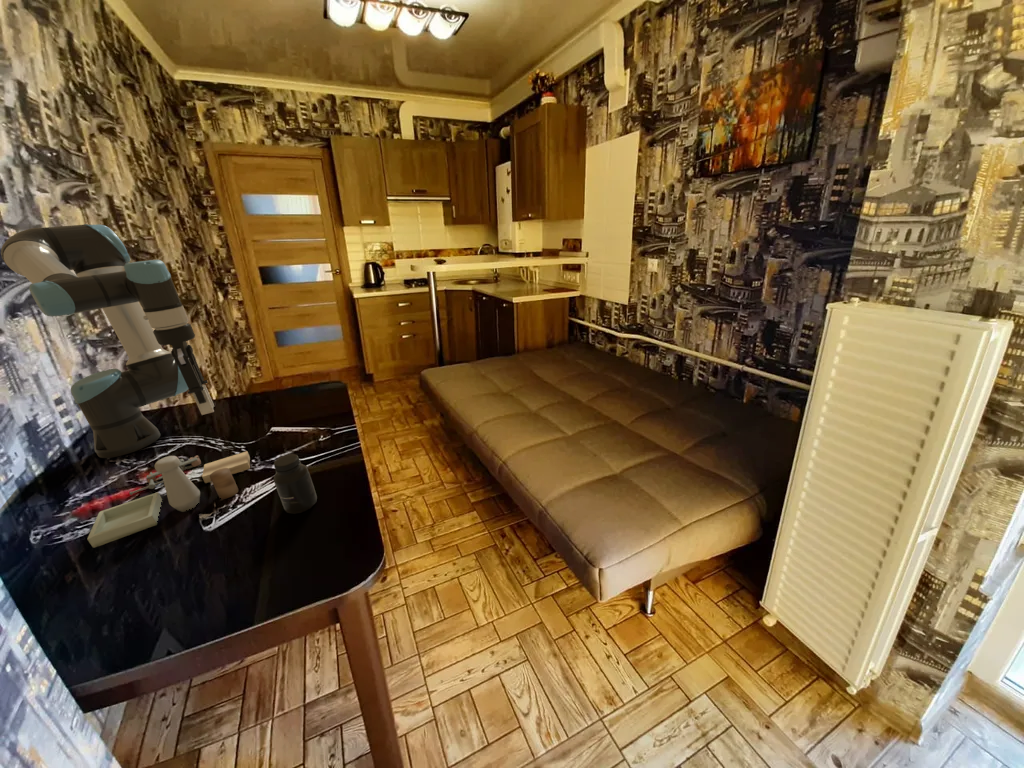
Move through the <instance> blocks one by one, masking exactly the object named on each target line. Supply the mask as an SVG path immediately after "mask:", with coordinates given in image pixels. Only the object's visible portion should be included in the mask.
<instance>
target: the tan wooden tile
mask: <svg viewBox="0 0 1024 768" xmlns="http://www.w3.org/2000/svg"><path fill="white" fill-rule="evenodd" d="M250 460H251V457H250V454H249V452H248V451H247V450H246V451H243V452H240V453H237V454H233V455H230V456H227V457H224V458H220V459H218V460H214V461H212V462H211V461H210V462H208V463H205V464H203V468H202V469H203V470H202V475H201V476H202V479H203V482H204V484H207V483H210V481H211V479H210V474H211V473H213V472H214V471H216V470H219V469H222V468H229V469H230V472H231V474H232V475H234V474H237V473H240V472H243V471H246V470H249V469H251V461H250ZM211 482H212V481H211Z"/></svg>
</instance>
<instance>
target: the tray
mask: <svg viewBox="0 0 1024 768" xmlns="http://www.w3.org/2000/svg"><path fill="white" fill-rule="evenodd" d="M162 500H163V498H162V497H161V494H160V493H159V492H158V491H157V492H155V493H151V494H148V495H145V496H142V497H140V498H136V499H134V500H130V501H127V502H125V503H122V504H119V505H116V506H113V507H110V508H107V509H103V510H101V511H99V512H98V514H97V516H96V517H95V518H96V519H95V521H94V523H93V526H92V527H91V530H90V532H89V534H88V536H87V541H88V543H89V544H90V545H91V547H92V548H93V549H95V548H98V547H101V546H103V545H105V544H108V543H111V542H114V541H117V540H119V539H122V538H124V537H127V536H130V535H133V534H136V533H138V532H141V531H143V530H147V529H148V528H152V527H155V526H157V525H158V522H157V521H159V518H158V516H159V517H160V514H159V512H160V513H161V509H160V507H161V508H162V505H161V502H162V503H163V501H162Z"/></svg>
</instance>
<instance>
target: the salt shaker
mask: <svg viewBox="0 0 1024 768" xmlns="http://www.w3.org/2000/svg"><path fill="white" fill-rule="evenodd" d="M179 459H180V458H178V457H177V456H176V455H168V456H165V457H161V459H158V460H157V461H156V462H155V464H154V469H155V472H159V473H162V474H161V476H162V477H163V478H162V481H164V483H163V485H164V489H165V492H166V496H167V501H168V505H170V506H171V507H172V508H173V509H175V510H177V511H178V512H181V513H185V512H187V511H190V510H193V509H195V507H197V506H198V505H199V504H200V501H201V500H200V499H201V498H200V497H201V491H200V489H199V488H198V487H197V486H196V485H195V484H194V483H193V482H192V481H191V479H190V478H189V477H188V476H187V475H186V473H184V471H182V470H181V469H180V468H179V465H180V460H179ZM198 503H199V504H198ZM197 504H198V505H197ZM196 505H197V506H196ZM192 508H193V509H192ZM189 509H190V510H189ZM186 510H187V511H186Z"/></svg>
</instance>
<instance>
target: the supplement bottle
mask: <svg viewBox="0 0 1024 768" xmlns="http://www.w3.org/2000/svg"><path fill="white" fill-rule="evenodd" d="M273 466H274V470H275V474H274V476H273V482H274V486H275V488H276V491H277V493H278V496H279V498H280V501H281V504H282V506H283V509H284V511H285V512H286V513H288V514H290V515H291V514H292V515H293V514H294V515H296V514H301V513H303V512H306V511H308V510H310V509H311V508H312V507H313V506H315V504H316V503H317V499H318V496H317V493H316V490H315V486H314V483H313V480H312V477H311V474H310V471H309V469H308V467H307V466H306V465H305V464H303V463H302V462H301V461H300V458H299V456H298V454H294V453H289V454H286V455H282V456H281V457H278V458H277V459H276V460H275V461H274V462H273Z"/></svg>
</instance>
